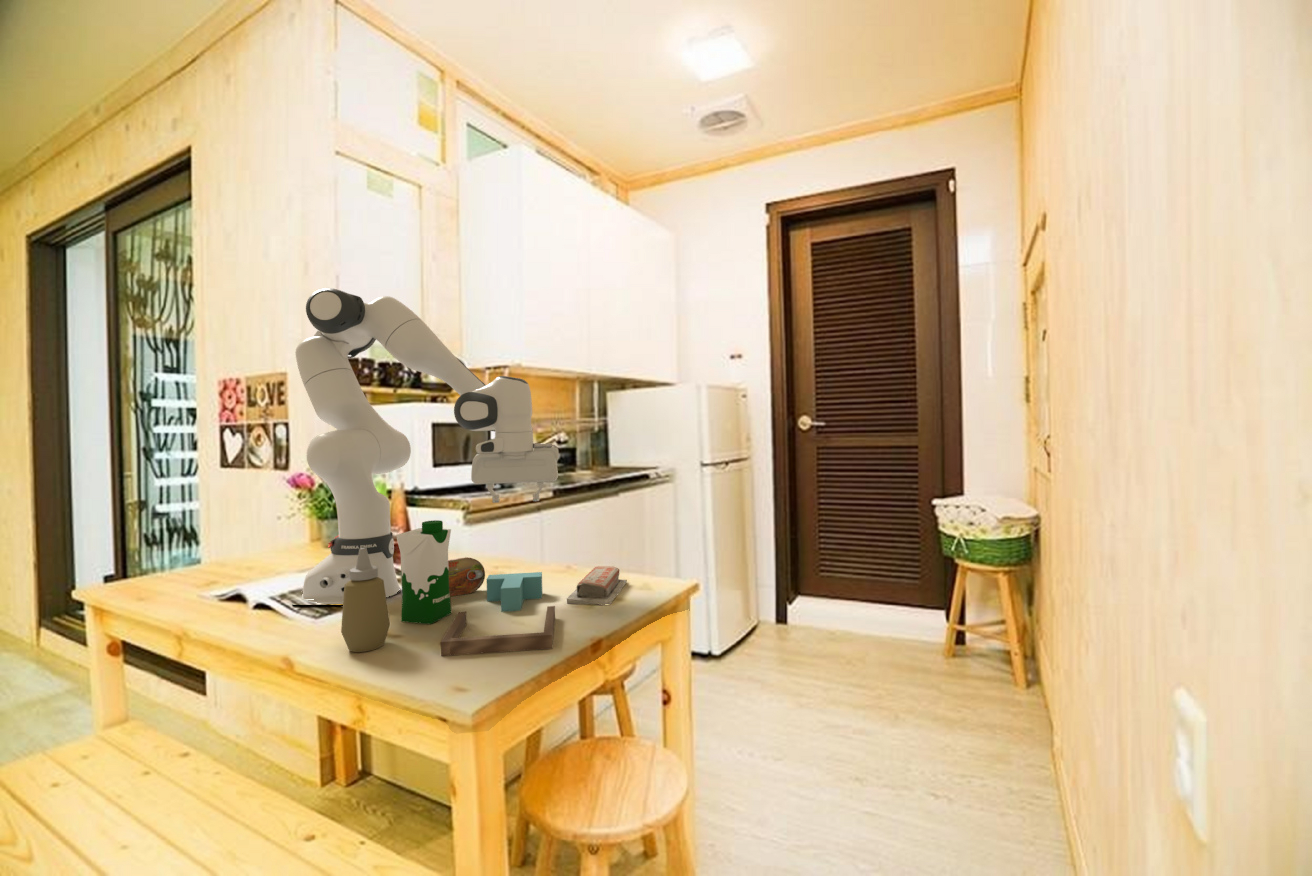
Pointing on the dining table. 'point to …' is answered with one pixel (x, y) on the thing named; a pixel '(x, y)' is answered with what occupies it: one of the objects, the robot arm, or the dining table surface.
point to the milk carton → (425, 573)
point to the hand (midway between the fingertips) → (516, 501)
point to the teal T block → (514, 589)
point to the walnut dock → (495, 638)
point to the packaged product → (598, 587)
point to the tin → (465, 576)
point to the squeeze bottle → (364, 607)
